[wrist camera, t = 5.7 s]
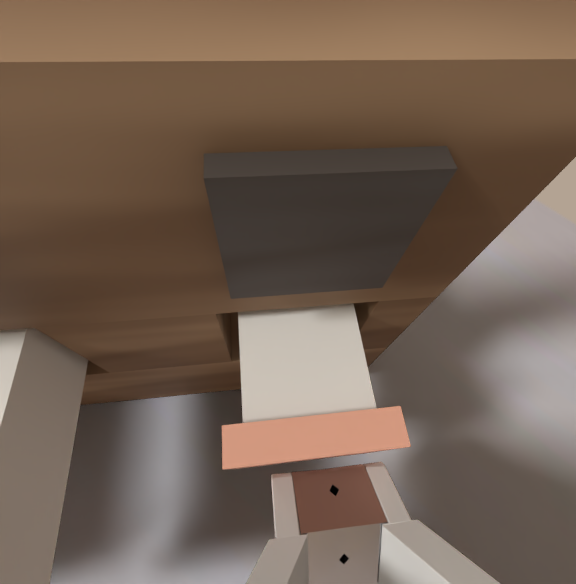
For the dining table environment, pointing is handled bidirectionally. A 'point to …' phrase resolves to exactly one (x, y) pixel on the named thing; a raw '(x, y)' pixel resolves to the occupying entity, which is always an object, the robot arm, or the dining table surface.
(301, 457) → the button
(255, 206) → the console
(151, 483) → the dining table surface
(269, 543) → the robot arm
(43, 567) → the button middle
